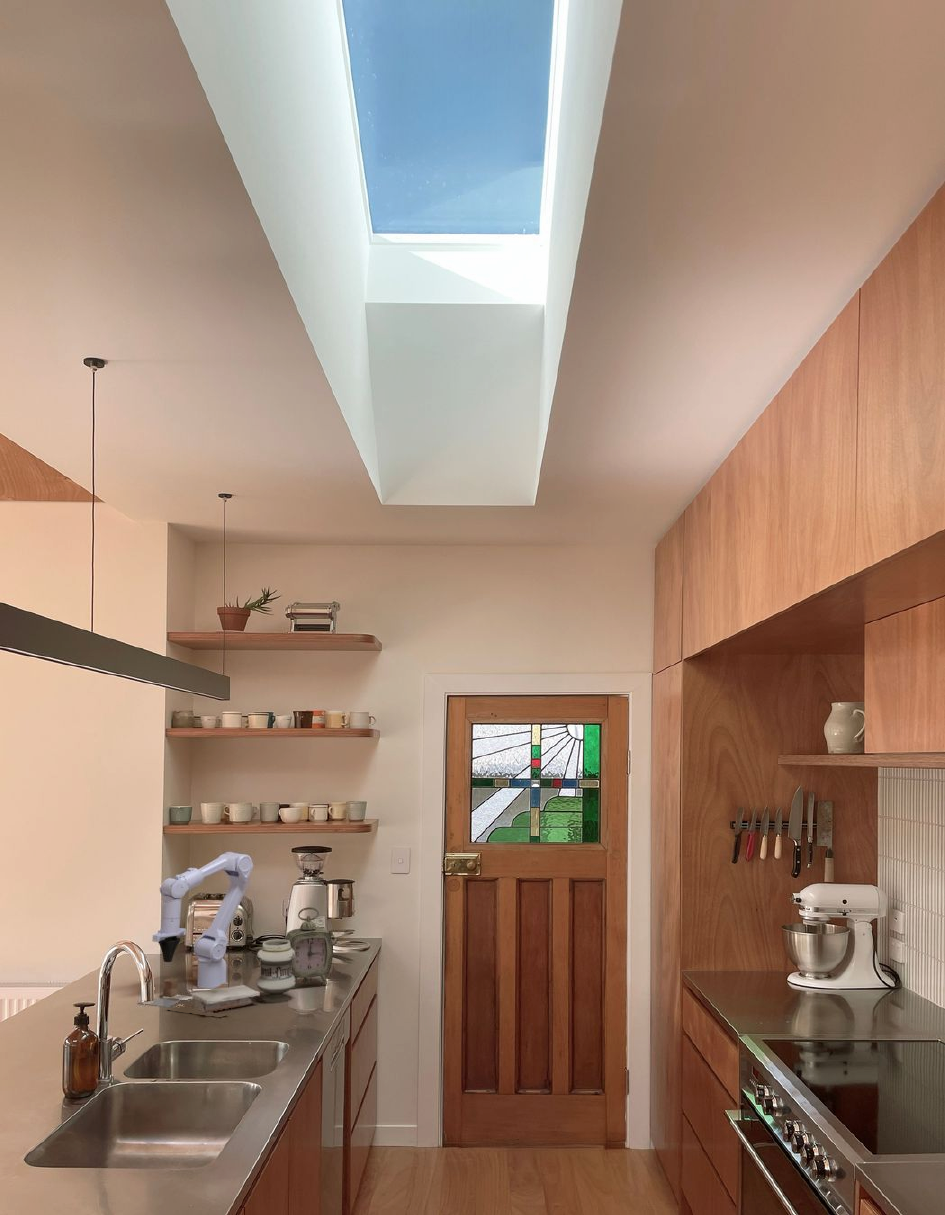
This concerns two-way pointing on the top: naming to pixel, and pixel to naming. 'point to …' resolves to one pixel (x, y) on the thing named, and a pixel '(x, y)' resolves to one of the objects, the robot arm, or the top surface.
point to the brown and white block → (172, 990)
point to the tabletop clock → (310, 949)
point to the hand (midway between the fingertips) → (167, 961)
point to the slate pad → (160, 1002)
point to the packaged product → (223, 998)
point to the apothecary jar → (276, 970)
